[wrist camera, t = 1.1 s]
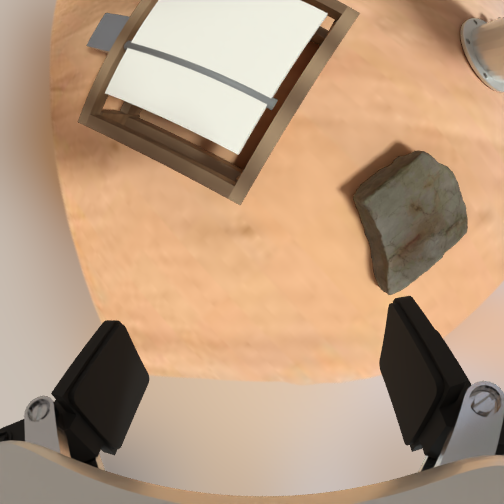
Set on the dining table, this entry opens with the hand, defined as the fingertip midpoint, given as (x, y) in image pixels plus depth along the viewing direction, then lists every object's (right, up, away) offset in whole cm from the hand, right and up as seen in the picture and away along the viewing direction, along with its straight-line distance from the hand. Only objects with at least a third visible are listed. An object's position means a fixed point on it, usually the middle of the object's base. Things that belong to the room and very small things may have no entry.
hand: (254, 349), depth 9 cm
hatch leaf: (-3, +22, +13) cm, 26 cm away
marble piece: (+20, +8, +24) cm, 33 cm away
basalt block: (-17, +31, +17) cm, 39 cm away
